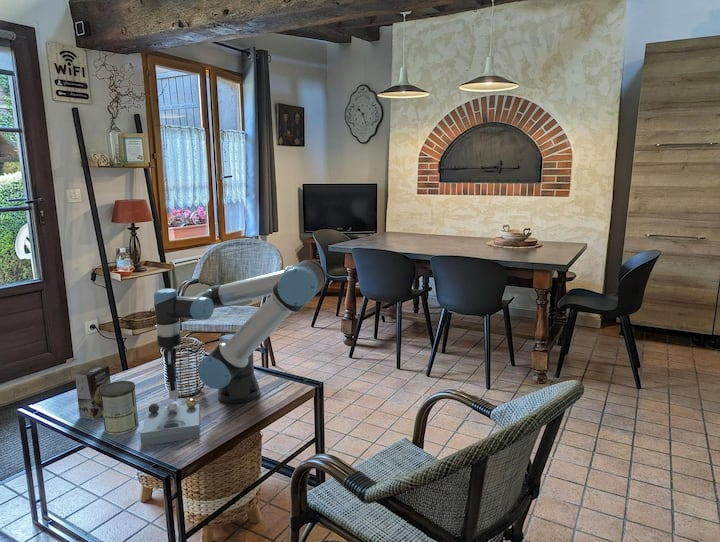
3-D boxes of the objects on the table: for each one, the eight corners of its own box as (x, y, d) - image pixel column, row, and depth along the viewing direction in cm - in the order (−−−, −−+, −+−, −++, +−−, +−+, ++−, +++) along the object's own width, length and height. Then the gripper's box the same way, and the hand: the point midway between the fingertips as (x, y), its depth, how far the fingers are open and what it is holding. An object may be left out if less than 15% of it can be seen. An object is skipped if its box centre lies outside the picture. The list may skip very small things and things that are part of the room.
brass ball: (196, 405, 176) (195, 396, 175) (196, 409, 173) (195, 400, 172) (186, 406, 175) (186, 397, 174) (186, 410, 172) (185, 401, 171)
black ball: (159, 409, 172) (158, 401, 172) (158, 414, 169) (158, 405, 169) (149, 411, 172) (148, 402, 171) (148, 415, 169) (147, 406, 168)
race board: (199, 410, 178) (198, 398, 177) (199, 437, 160) (198, 424, 159) (147, 417, 173) (146, 405, 172) (141, 446, 155) (140, 433, 154)
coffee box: (94, 420, 171) (89, 375, 167) (79, 418, 172) (73, 373, 169) (114, 408, 179) (109, 365, 176) (99, 406, 181) (94, 363, 178)
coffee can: (98, 428, 165) (93, 388, 163) (129, 416, 173) (125, 377, 170) (113, 439, 159) (108, 397, 156) (144, 426, 167) (141, 386, 164)
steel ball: (178, 409, 173) (177, 400, 172) (177, 413, 170) (176, 404, 169) (168, 410, 172) (167, 402, 171) (167, 415, 169) (166, 406, 168)
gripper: (158, 329, 179) (163, 391, 184) (155, 341, 167) (161, 407, 172) (180, 327, 181) (185, 388, 186) (179, 338, 169) (184, 404, 174)
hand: (173, 397), depth 179 cm, fingers closed
